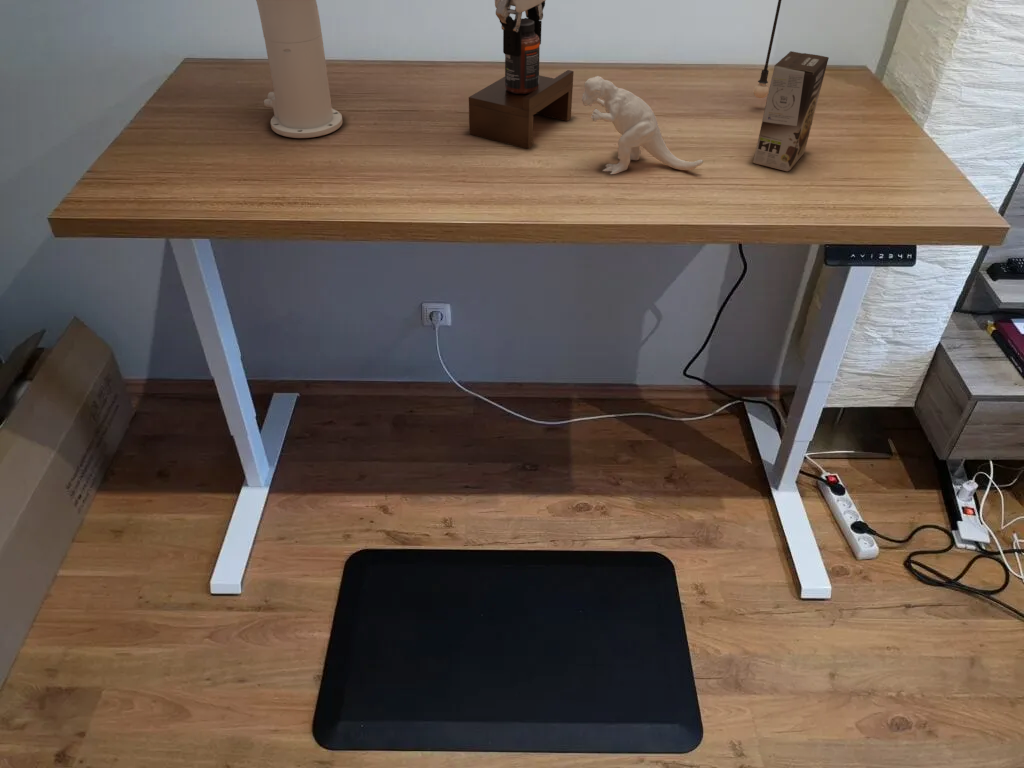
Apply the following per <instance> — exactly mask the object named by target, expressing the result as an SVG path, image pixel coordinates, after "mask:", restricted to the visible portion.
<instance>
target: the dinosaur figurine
mask: <svg viewBox="0 0 1024 768" xmlns="http://www.w3.org/2000/svg"><path fill="white" fill-rule="evenodd" d="M583 89H584V92H582V95H581V101H582V105H583V106H584V107H588V106H589V107H592V106H593V105H594V104H595V105H599V106H601V107H602V108H604V110H605V112H602V111H600V110H599V109H597V108H594V110H592V113H591V116H590V118H591V120H592V122H594V123H596V122H598V121H601V120H602V121H605V122H608V123H612V124H613V127H614V128H615V130H616V131H617V132H618V134H620V135H621V136H620V137H619V139H618V142H617V146H618V147H617V155H618V156H617V157H616V159H618V160H619V161H618V162H617V163H607V164H605V167H604V168H603V169H602V172H610V173H609V174H610V175H616V174H619V173H621V172H624V171H627V170H628V168H629V165H630V163H631V161H638V160H640V157H641V155H642V149H641V148H643V149H645V151H646V152H647V153H649V154H650V155H651V156H652V157H653V158H655V159H656V160H658V161H659V162H660V163H662V164H664V165H666V166H668V167H669V168H673V169H675V170H678V171H679V170H680V171H692V170H695V169H697V168H698V167H701V166H702V165H703V163H704V160H703V159H697V160H695V161H687V160H684V159H680V158H678V157H677V156H676V155H675V154H674V153H672V152H671V150H670V148H668V146H667V144H666V142H665V140H664V138H663V135H662V132H661V128H660V127H659V123H658V119H657V117H656V114H655V112H654V111H653V109H652V107H651V106H650V105H649V104H648V103H647V102H646V101H645V100H644V99H642V98H641V97H639V96H638V95H635V93H633V92H631V91H629V90H628V89H624V88H622V87H618V86H617V85H615V84H614V83H613V82H612V81H611V80H608V79H604V78H603V77H602V76H600V75H596V76H593V77H589V78H588V79H587V80H585V82H584V85H583ZM602 99H603V100H602Z"/></svg>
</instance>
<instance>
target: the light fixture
mask: <svg viewBox="0 0 1024 768" xmlns="http://www.w3.org/2000/svg"><path fill="white" fill-rule="evenodd" d="M781 4H782V0H778V2H777V6H776V9H775V16H774V20H773V25H772V29H771V35H770V40H769V44H768V50H767V54H766V58H765V64H764V67H763V69H762V70H761V73H760V78H759V80H757V82H758V84H756V85H755V87H754V88H753V95H754V96H755V97H756V98H757V99H763V98H766V97H768V93H769V87H768V85H767V84H768V83H769V81H768V76H769V70H768V68H769V62H770V58H771V52H772V48H773V43H774V39H775V33H776V30H777V29H776V28H777V24H778V19H779V14H780V9H781Z"/></svg>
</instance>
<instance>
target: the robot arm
mask: <svg viewBox="0 0 1024 768" xmlns="http://www.w3.org/2000/svg"><path fill="white" fill-rule="evenodd" d="M546 1H547V0H494V7H495V16H496V17H497V19H498V20H499V23H500V25H501V27H500V28H501V30H502V31H503V32H502V34H503V35H502V36H503V37H502V53H503V55H505V54H507V55H512V56H517V57H519V56H520V55H521V36H522V31H519V28H520V22H521V19H522V17H523V13H525V17H523V19H531V20H533V21H534V28H535V29H534V32H535V34H537V35H538V36H539V39H540V45H541V44H542V24H543V23H542V20H543V19H544V9H545V6H546ZM255 2H256V6H257V9H258V15H259V19H260V24H261V29H262V35H263V38H264V43H265V44H264V45H265V50H266V55H267V62H268V66H269V67H268V68H269V73H270V76H271V83H272V88H273V89H272V90H273V91H269V92H268V93H267V98H265V99H264V100H263V105H264V107H266V108H270V109H272V110H273V114H274V115H273V116H272V117H271V119H270V122H269V123H270V127H271V130H272V131H273V132H274V133H276V134H277V135H279V136H283V137H285V138H291V139H310V138H316V137H323V136H325V135H329V134H331V133H334V132H335V131H337V130H338V129H340V128H341V127H342V126H343V123H344V122H343V116H342V113H340V111H338V110H337V109H335V108H333V105H332V99H331V98H332V97H331V91H330V82H329V76H328V70H327V69H328V68H327V62H326V53H325V46H324V40H323V32H322V27H321V26H322V25H321V19H320V14H319V8H318V2H317V0H255ZM511 7H515V8H514V9H512V8H511ZM511 15H515V16H514V19H515V20H514V19H513V16H511Z"/></svg>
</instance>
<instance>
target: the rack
mask: <svg viewBox="0 0 1024 768" xmlns="http://www.w3.org/2000/svg"><path fill="white" fill-rule="evenodd" d="M573 89H574V70H570V69H567V70H565V71H564V72H562V73H561V74H559V75H558V76H556V77H550V76H544V75H540V74H539V87H538V89H537V90H535V91H533V92H532V93H529V94H515V93H511V92H509V91H507V89H506V88H505V76H503V77H501V78H500V79H498V80H496V81H494V82H492V83H490V84H489V85H487V86H486V87H484V88H482V89H480V90H479V91H477V92H475V93H473V94H471V95H470V96H468V125H469V126H468V127H469V128H468V129H469V135H472V136H475V137H478V138H480V137H481V138H484V139H487V140H491V141H495V142H498V143H499V142H500V143H504V144H507V145H511V146H515V147H519V148H524V149H527V150H528V149H530V148H531V147H533V144H534V115H540V116H543V117H548V118H553V119H557V120H561V121H565V122H568V121H569V120H571V119H572V106H573V105H572V104H573Z"/></svg>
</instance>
